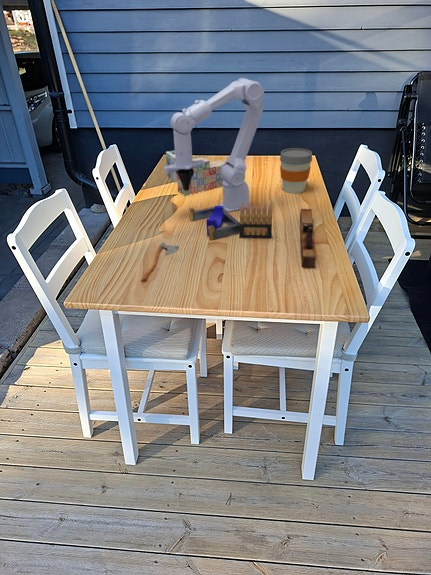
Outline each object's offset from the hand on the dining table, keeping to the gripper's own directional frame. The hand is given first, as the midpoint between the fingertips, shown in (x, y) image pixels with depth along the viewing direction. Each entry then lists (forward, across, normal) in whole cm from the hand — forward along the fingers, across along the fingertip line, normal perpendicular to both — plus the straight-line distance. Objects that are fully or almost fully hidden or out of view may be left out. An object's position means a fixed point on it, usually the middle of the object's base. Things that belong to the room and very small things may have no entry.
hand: (186, 189), depth 151 cm
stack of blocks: (+10, +16, +22) cm, 29 cm away
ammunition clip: (+10, +13, -27) cm, 32 cm away
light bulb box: (+10, +12, +40) cm, 43 cm away
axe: (+11, -20, -28) cm, 36 cm away
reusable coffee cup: (+10, +48, +2) cm, 49 cm away
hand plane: (+10, +26, -37) cm, 47 cm away
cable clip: (+10, +4, -14) cm, 18 cm away
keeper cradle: (+10, +5, -13) cm, 17 cm away
